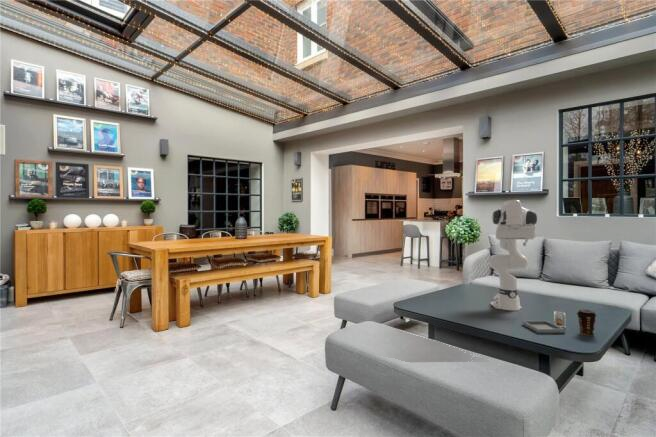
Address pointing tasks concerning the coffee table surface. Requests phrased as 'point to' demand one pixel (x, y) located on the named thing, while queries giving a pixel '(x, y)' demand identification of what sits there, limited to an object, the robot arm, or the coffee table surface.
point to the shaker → (560, 316)
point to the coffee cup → (586, 322)
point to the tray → (543, 327)
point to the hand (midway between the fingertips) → (515, 245)
